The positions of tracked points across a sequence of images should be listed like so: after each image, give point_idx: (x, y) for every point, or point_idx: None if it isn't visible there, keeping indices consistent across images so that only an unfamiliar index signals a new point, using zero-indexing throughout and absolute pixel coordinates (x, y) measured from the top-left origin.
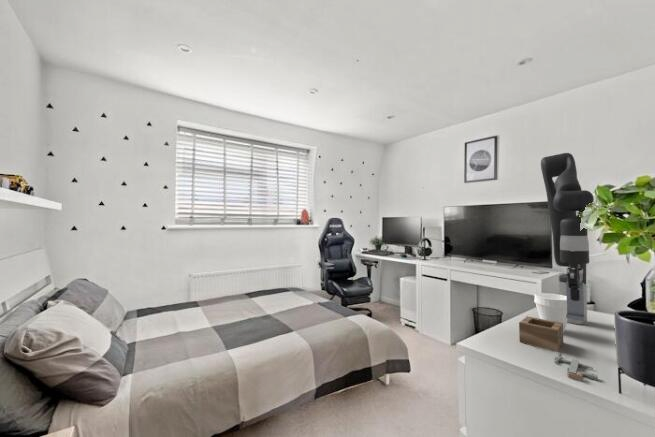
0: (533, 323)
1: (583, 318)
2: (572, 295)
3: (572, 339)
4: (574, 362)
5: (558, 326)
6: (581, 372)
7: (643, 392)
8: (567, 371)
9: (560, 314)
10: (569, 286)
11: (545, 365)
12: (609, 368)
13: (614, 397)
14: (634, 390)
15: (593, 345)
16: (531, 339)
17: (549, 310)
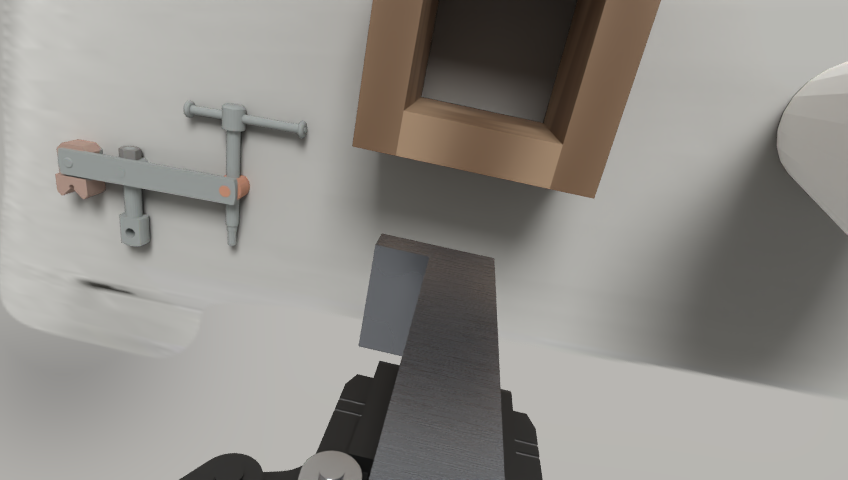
0: None
1: (359, 341)
2: (337, 407)
3: (667, 217)
4: (189, 183)
5: (474, 162)
6: (124, 196)
7: (150, 346)
8: (73, 145)
9: (838, 207)
10: (191, 478)
11: (134, 58)
12: (305, 300)
13: (33, 261)
14: (144, 327)
15: (607, 299)
16: None
17: None
